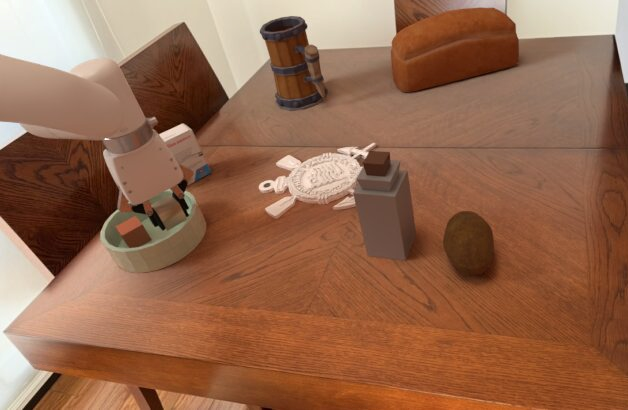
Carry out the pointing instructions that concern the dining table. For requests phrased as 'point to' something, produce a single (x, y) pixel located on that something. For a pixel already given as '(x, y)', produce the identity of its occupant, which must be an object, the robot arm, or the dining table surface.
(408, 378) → the dining table surface
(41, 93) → the robot arm
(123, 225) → the terracotta block
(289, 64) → the mug
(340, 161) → the pendant
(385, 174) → the perfume bottle
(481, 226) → the potato
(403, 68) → the bread
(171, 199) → the cream block
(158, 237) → the bowl
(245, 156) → the dining table surface
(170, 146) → the ink box
